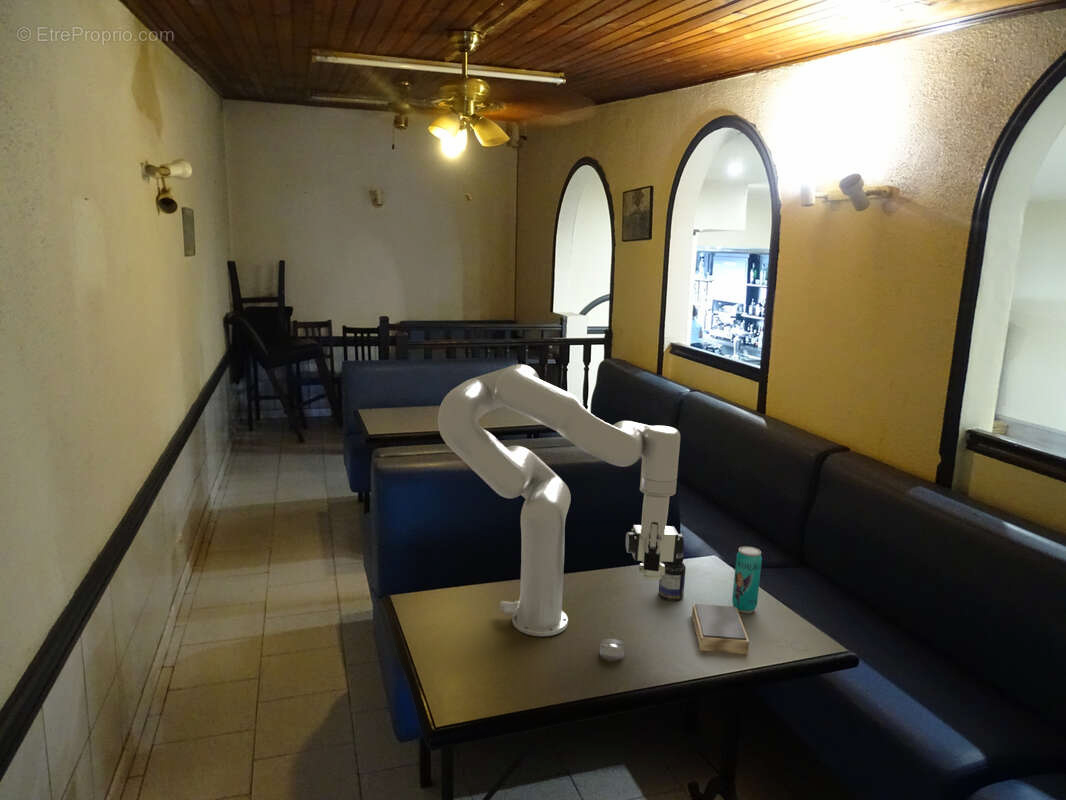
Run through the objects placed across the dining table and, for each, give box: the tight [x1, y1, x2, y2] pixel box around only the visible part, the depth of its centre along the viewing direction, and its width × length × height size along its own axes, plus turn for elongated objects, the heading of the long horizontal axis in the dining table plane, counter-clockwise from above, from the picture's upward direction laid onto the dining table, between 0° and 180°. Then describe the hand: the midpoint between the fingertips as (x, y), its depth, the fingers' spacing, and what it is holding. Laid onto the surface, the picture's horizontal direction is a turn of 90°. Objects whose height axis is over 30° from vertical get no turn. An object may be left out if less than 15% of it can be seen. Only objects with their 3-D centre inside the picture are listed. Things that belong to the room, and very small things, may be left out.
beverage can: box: [731, 545, 763, 614], centre depth 174 cm, size 6×6×15 cm
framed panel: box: [691, 603, 750, 655], centre depth 164 cm, size 10×15×3 cm, turn 175°
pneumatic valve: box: [625, 524, 685, 581], centre depth 158 cm, size 6×12×12 cm, turn 92°
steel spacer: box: [599, 638, 625, 662], centre depth 154 cm, size 5×5×2 cm
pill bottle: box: [658, 553, 686, 602], centre depth 180 cm, size 6×6×11 cm
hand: (651, 563), depth 159 cm, fingers closed on pneumatic valve, 5 cm apart
